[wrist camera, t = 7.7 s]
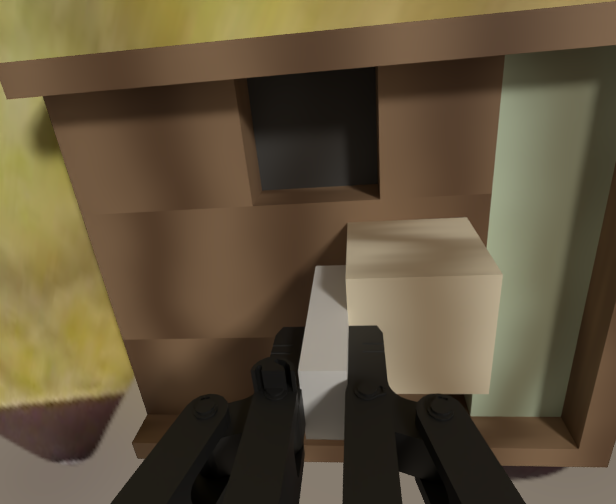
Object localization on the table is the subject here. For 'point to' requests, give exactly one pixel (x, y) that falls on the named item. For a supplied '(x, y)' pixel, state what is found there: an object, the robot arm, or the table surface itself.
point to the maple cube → (426, 301)
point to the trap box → (354, 199)
